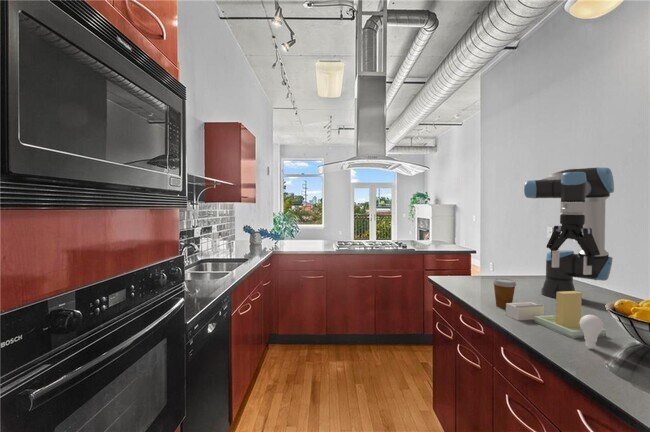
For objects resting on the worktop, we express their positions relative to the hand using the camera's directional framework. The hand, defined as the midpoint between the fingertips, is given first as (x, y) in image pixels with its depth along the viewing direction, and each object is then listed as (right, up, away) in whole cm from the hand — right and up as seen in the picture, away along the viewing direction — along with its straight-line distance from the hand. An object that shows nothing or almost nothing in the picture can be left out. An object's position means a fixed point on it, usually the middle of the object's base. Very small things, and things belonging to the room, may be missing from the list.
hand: (570, 270), depth 131 cm
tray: (0, -22, 0) cm, 22 cm away
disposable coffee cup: (-10, -21, +29) cm, 37 cm away
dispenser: (-9, -21, +14) cm, 27 cm away
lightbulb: (-6, -23, -18) cm, 29 cm away
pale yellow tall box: (-1, -21, 0) cm, 21 cm away
